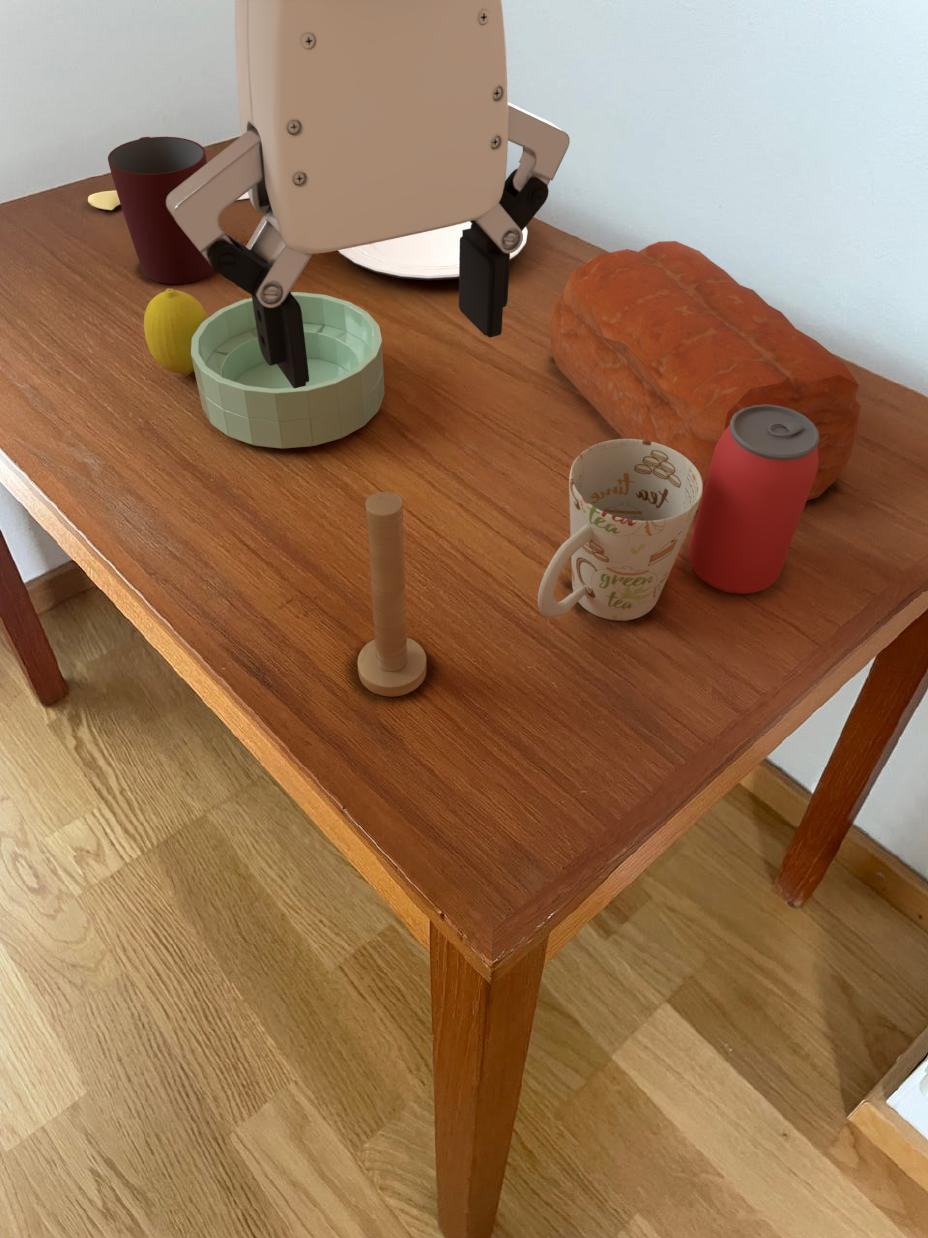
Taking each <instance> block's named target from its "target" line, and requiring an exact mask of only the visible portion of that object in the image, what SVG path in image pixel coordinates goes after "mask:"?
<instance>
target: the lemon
mask: <svg viewBox="0 0 928 1238" xmlns="http://www.w3.org/2000/svg"><path fill="white" fill-rule="evenodd" d="M143 317H144V318H143V331H144V337H145V343H146V346H147V348H148V350H149V352H150V354H151V356H152V357H153V358H154V360H155V361H156V362H157V363H158V364H159V365H160V366H161V367H162V368H164V369H166V370H167V371H169V372H172V373H176V374H181V375H184V376H186V377H187V376H191V374H193V372H194V373H195V371H194V366H193V361H192V357H191V342H192V337H193V335H194V334H195V332H196V331H197V329H198V328H199V326H200V325H201V323H202V322H203V321H205V320H206V319H207V318H209V316H208V315H207V312H206V311H205V309H204V307H203V304H201V302H200V301H199V300H197V298H195V297H194V296H193V295H191V294H189V293H187V292H184V291H183V290H182V291H181V290H176V289H173V288H166V289H165V290H164V291H162V292H160V293H158V294H157V295H155V296H154V297H152V299H151V300H150V302H148V304H147V307H146V308H145V311H144V316H143Z"/></svg>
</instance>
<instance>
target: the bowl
mask: <svg viewBox="0 0 928 1238" xmlns="http://www.w3.org/2000/svg"><path fill="white" fill-rule="evenodd" d="M290 293H291V294H292V295H293V296H294V298H295V299H296V300H297V302H298V303H299V305H300V307H301V311H302V319H303V328H304V337H305V346H306V354H307V363H308V372H309V382H306V386H303V387H299V388H295V389H294V388H293V387H292V385H291V384H290V382H289V381H288V379H287V378H286V376H285V375H284V374H283V372H282V371H281V369H280V368H279V366H278V365H277V364H275V365H271V366H269V365H268V363H267V362H266V360H265V359H264V357H263V355H262V352H261V349H260V346H259V341H258V334H257V328H256V321H255V315H254V308H253V302H252V297H249V298H244V299H240V300H238V301H236V302H234V303H231V304H229V305H227V306H224V307H223V308H222V307H221V308H219V309H218V310H217V311H215V312H213V313H212V314H211V315H210V316H208V318H207V319H206V320H205V321H203V322H202V323H201V325H200V326H199V328H198V329H197V331H196V332H195V334H194V335H193V337H192V342H191V357H192V361H193V366H194V375H195V380H196V385H197V389H198V393H199V394H198V395H199V399H200V404H201V408H202V411H203V413H204V415H206V417H207V419H208V421H209V422H210V424H211V425H212V426H213V427H214V428H216V429H217V430H219V431H220V432H222V433H223V434H224V435H226V436H227V437H229V438H231V439H233V440H234V439H235V440H237V441H240V442H244V443H246V444H249V445H251V446H253V447H254V446H255V447H264V448H274V449H294V448H295V449H296V448H306V447H314V446H318V445H322V444H326V443H329V442H333V441H337V440H340V439H343V438H346V436H348V435H350V434H352V433H353V432H356V431H357V430H360V429H361V428H363V427H365V426H366V425H367V423H369V422H370V420H371V419H373V417H375V415H377V413H378V412H379V411H380V408H381V405H382V403H383V400H384V398H385V375H384V374H385V373H384V354H383V353H384V352H383V351H384V350H383V338H382V333H381V329H380V325H379V324H378V323H377V321H376V320H375V319H374V317H372V315H370V313H369V312H368V311H367V310H365V309H363V308H361V307H359V306H358V305H356V304H354V303H352V302H351V301H348V300H345V299H342V298H337V297H334V296H331V295H327V294H323V293H312V292H301V291H292V292H291V291H290Z"/></svg>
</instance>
